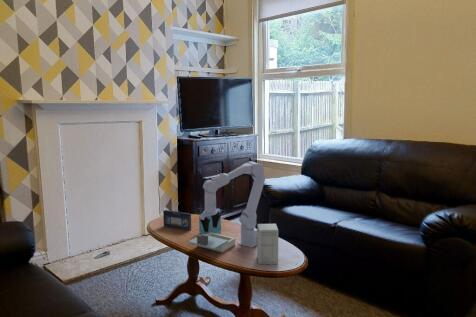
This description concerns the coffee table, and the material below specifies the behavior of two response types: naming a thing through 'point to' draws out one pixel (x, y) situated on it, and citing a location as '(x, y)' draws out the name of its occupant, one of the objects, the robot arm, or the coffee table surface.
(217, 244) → the lid flap
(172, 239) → the coffee table surface
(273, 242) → the supplement box
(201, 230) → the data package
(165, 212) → the vhs cassette tape
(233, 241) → the carton
